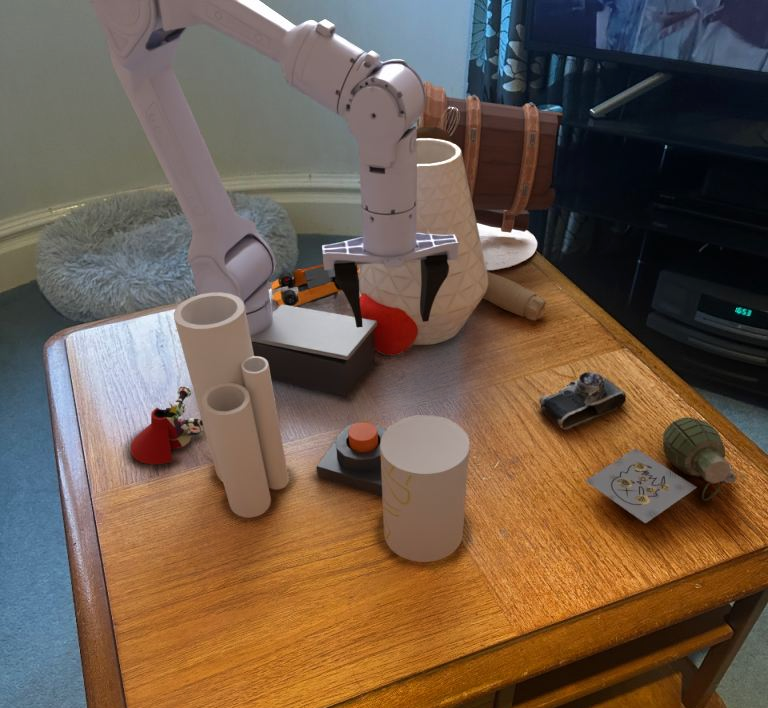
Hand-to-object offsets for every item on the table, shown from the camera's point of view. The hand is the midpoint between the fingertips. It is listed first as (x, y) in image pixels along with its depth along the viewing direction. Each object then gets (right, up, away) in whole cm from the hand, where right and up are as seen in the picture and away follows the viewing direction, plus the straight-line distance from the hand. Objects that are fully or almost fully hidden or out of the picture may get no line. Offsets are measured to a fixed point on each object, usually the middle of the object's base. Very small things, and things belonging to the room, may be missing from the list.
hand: (391, 319), depth 84 cm
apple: (0, 0, +15) cm, 15 cm away
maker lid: (-10, 0, +7) cm, 12 cm away
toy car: (-12, +12, +21) cm, 27 cm away
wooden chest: (+4, +30, +24) cm, 38 cm away
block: (-3, -17, -2) cm, 17 cm away
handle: (+21, +6, +16) cm, 27 cm away
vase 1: (-16, -19, -3) cm, 25 cm away
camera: (+23, -10, +4) cm, 25 cm away
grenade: (+33, -14, -2) cm, 36 cm away
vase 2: (+5, +4, +18) cm, 19 cm away
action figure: (-26, -14, +2) cm, 30 cm away
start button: (-3, -15, -4) cm, 16 cm away
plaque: (+14, +23, +33) cm, 43 cm away
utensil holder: (+4, +20, +12) cm, 24 cm away
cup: (+3, -24, -9) cm, 26 cm away
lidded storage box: (-10, -3, +11) cm, 15 cm away
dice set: (+26, -19, -8) cm, 33 cm away
